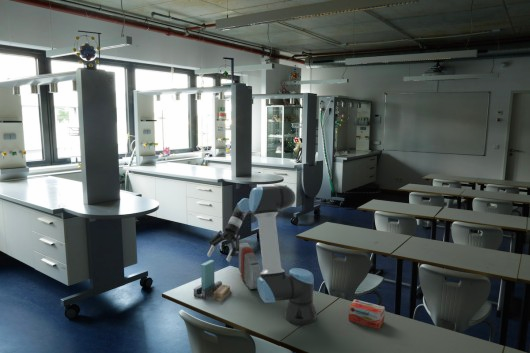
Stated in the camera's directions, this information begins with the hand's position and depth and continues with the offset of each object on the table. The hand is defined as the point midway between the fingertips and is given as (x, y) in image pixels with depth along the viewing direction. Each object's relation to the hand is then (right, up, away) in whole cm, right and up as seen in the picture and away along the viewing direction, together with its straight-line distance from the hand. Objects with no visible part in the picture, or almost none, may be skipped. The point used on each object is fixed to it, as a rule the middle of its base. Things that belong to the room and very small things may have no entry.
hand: (217, 258), depth 226 cm
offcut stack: (+3, -18, -11) cm, 22 cm away
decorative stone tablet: (+17, -15, +6) cm, 24 cm away
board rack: (-5, -17, -6) cm, 19 cm away
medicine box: (+75, -23, -35) cm, 85 cm away
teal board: (-5, -17, -6) cm, 19 cm away
